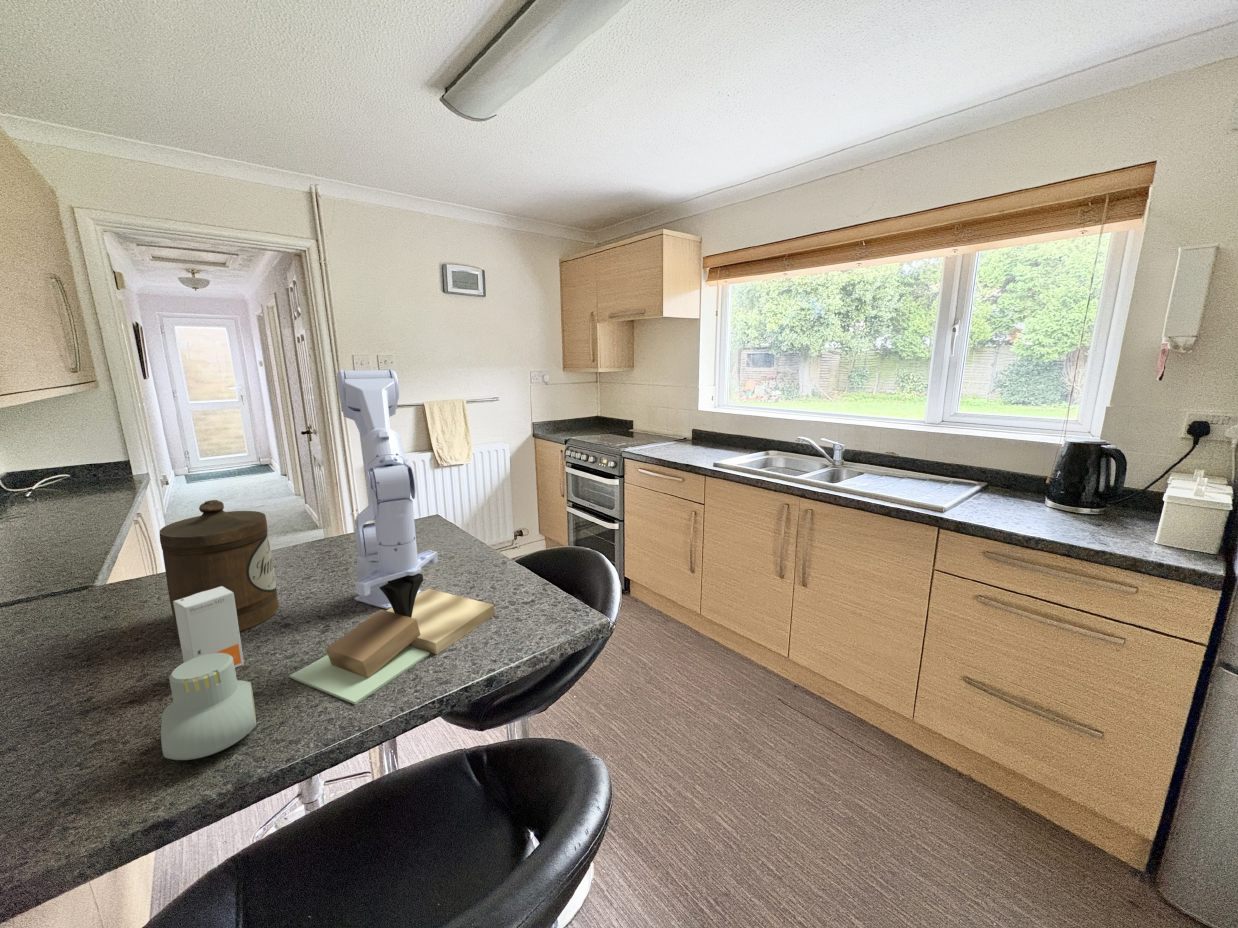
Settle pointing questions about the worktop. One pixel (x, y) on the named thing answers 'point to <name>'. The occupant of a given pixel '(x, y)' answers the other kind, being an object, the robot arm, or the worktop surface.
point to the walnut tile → (373, 643)
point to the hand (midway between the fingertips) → (404, 618)
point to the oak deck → (446, 619)
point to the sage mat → (356, 676)
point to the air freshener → (206, 708)
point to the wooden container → (222, 560)
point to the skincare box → (209, 625)
